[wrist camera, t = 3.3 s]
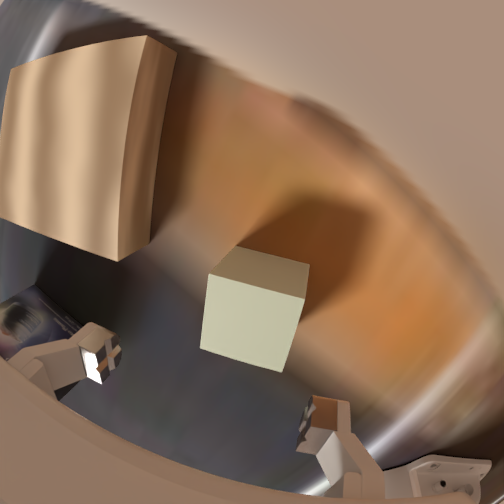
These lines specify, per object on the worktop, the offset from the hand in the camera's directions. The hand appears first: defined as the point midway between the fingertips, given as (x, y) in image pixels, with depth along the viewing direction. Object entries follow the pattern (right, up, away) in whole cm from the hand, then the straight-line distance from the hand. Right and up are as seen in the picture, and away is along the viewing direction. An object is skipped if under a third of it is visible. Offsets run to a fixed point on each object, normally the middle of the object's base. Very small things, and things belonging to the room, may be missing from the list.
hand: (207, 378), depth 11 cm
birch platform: (-12, +14, +9) cm, 21 cm away
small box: (-20, -3, +17) cm, 26 cm away
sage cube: (+3, +3, +9) cm, 10 cm away
